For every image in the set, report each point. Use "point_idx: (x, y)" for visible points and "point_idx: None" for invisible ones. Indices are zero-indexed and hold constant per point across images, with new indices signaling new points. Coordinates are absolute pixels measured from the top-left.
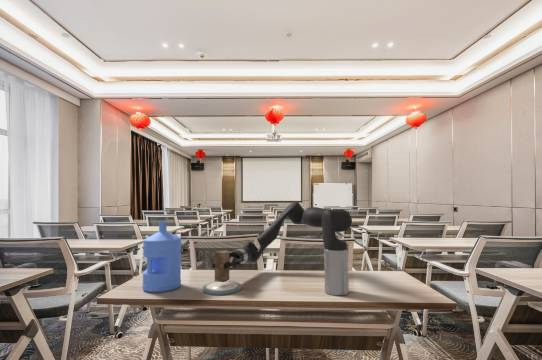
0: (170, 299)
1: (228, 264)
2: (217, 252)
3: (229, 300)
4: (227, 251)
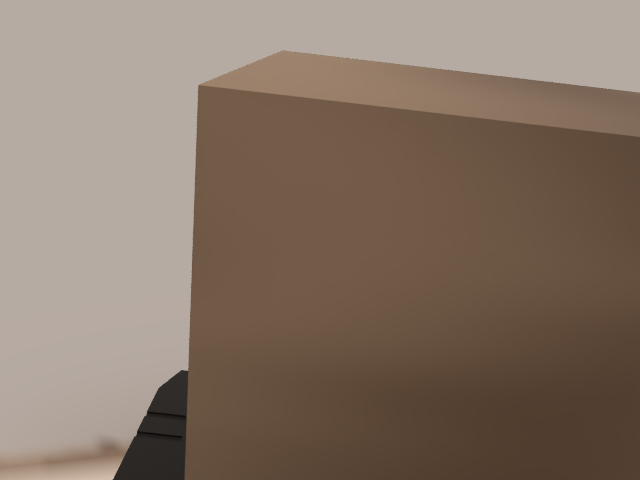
0: None
1: (144, 428)
2: (536, 82)
3: (72, 453)
4: (264, 69)
